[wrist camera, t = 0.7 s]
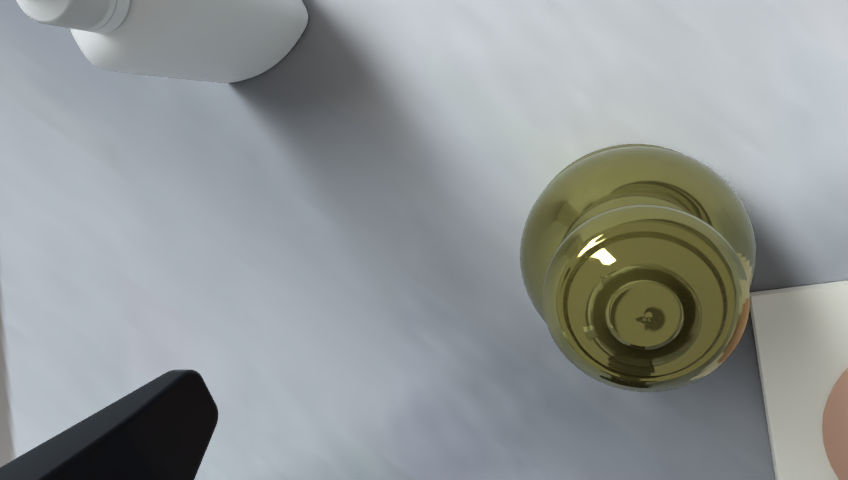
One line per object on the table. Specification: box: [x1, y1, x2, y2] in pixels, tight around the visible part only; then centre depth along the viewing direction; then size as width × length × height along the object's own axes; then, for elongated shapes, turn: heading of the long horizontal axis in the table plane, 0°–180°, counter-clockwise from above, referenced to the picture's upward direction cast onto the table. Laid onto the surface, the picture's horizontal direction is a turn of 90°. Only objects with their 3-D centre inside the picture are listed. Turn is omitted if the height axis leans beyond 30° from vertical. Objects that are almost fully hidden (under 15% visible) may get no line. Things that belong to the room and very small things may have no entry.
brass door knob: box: [520, 144, 756, 392], centre depth 18 cm, size 7×7×10 cm
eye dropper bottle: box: [16, 0, 308, 83], centre depth 20 cm, size 4×6×12 cm
